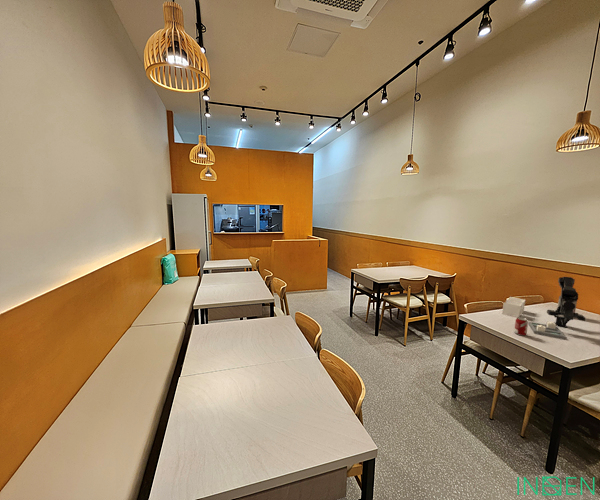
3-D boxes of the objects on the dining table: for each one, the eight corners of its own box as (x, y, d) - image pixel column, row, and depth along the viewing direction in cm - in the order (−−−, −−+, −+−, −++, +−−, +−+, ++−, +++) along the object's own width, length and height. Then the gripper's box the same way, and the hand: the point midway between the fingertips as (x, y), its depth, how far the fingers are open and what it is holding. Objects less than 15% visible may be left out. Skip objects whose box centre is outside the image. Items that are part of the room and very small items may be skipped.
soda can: (515, 334, 176) (517, 319, 175) (512, 331, 182) (514, 316, 181) (527, 337, 173) (530, 321, 172) (524, 333, 179) (526, 317, 177)
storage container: (518, 318, 206) (520, 306, 205) (502, 314, 214) (503, 302, 213) (523, 311, 222) (525, 299, 220) (508, 307, 230) (509, 296, 229)
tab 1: (536, 329, 182) (537, 324, 181) (543, 331, 180) (544, 325, 179) (537, 331, 179) (538, 325, 179) (544, 332, 177) (545, 326, 176)
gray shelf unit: (528, 324, 195) (528, 321, 194) (556, 329, 186) (556, 326, 186) (534, 333, 179) (534, 330, 179) (565, 339, 170) (565, 336, 170)
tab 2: (546, 326, 187) (547, 320, 187) (553, 327, 185) (554, 322, 185) (547, 328, 185) (548, 322, 184) (555, 329, 183) (556, 323, 182)
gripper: (552, 306, 177) (549, 326, 180) (590, 312, 167) (586, 333, 169) (548, 302, 187) (545, 321, 189) (583, 307, 176) (580, 327, 179)
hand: (563, 325), depth 181 cm, fingers closed
